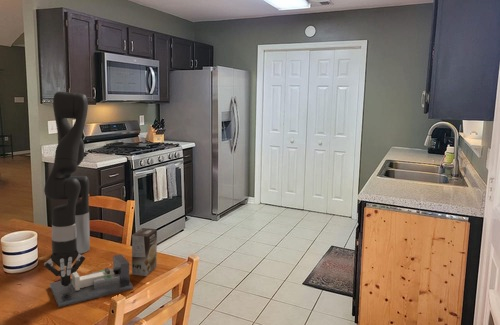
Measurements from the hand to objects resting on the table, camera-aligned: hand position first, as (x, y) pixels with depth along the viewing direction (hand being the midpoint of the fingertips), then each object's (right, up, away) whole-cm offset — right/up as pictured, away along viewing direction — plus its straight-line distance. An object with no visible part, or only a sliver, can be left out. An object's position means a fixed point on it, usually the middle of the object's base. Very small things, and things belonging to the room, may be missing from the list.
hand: (65, 285), depth 130 cm
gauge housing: (+7, -3, +5) cm, 9 cm away
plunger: (+7, -1, +6) cm, 9 cm away
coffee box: (+21, -1, +21) cm, 30 cm away
